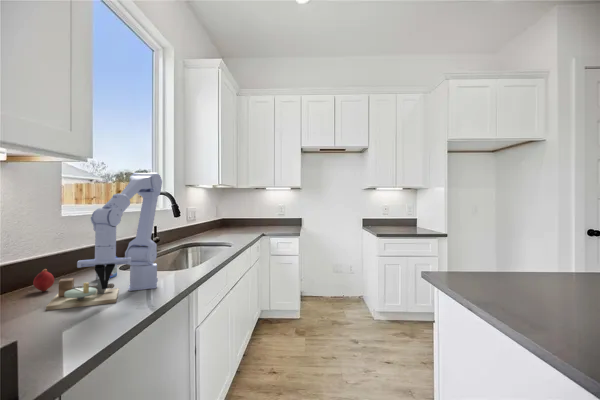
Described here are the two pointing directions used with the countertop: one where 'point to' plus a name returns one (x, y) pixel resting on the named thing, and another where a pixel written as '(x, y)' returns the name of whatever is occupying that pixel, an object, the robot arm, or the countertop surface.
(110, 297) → the board
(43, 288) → the onion
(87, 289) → the handwheel
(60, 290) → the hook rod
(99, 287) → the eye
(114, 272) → the medicine box
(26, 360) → the countertop surface
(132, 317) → the countertop surface
